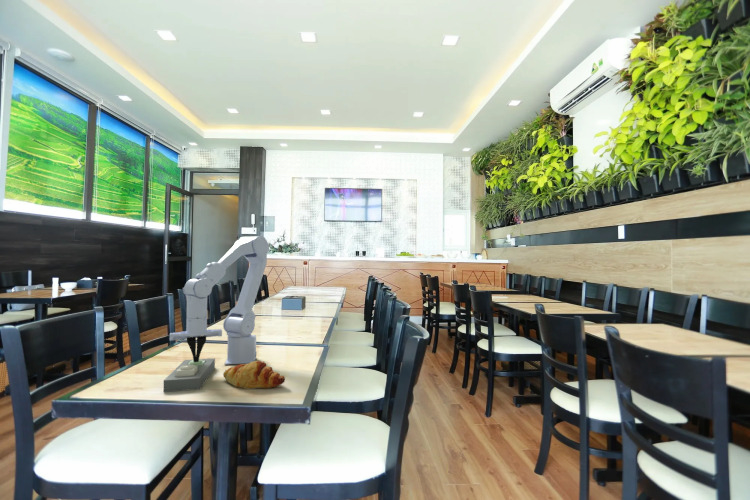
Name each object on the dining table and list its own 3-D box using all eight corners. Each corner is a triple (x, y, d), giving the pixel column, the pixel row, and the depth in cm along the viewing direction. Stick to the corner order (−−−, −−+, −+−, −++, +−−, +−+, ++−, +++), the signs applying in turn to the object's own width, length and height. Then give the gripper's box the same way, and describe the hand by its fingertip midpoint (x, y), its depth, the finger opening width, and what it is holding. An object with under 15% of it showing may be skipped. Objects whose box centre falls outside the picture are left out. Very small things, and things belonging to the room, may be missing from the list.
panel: (214, 367, 119) (214, 358, 119) (199, 389, 99) (200, 378, 100) (184, 369, 117) (184, 359, 117) (163, 391, 97) (163, 380, 97)
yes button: (205, 370, 116) (205, 358, 116) (201, 374, 111) (202, 362, 111) (190, 371, 115) (190, 359, 115) (186, 375, 110) (186, 363, 110)
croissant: (216, 394, 105) (206, 373, 102) (238, 369, 114) (229, 349, 110) (279, 403, 98) (270, 381, 95) (296, 375, 106) (289, 354, 103)
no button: (197, 375, 106) (197, 363, 106) (193, 380, 102) (193, 367, 102) (180, 376, 105) (181, 364, 105) (176, 381, 101) (176, 368, 101)
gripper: (220, 314, 120) (220, 355, 120) (170, 317, 114) (169, 361, 113) (223, 317, 114) (222, 360, 114) (169, 320, 107) (168, 367, 107)
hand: (196, 361), depth 113 cm, fingers closed, pressing on yes button
